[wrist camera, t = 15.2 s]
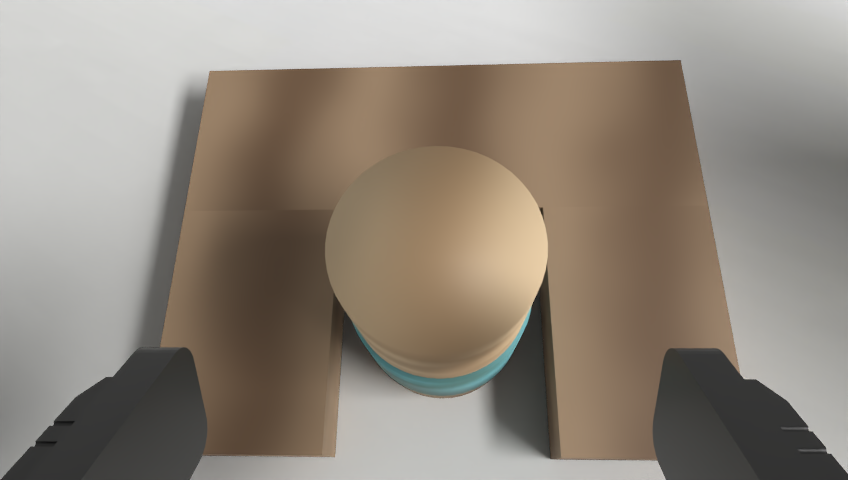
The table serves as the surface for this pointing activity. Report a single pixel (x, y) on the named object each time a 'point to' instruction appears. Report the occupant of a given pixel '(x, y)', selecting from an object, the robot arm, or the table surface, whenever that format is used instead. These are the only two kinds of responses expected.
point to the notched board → (475, 131)
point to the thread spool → (437, 266)
